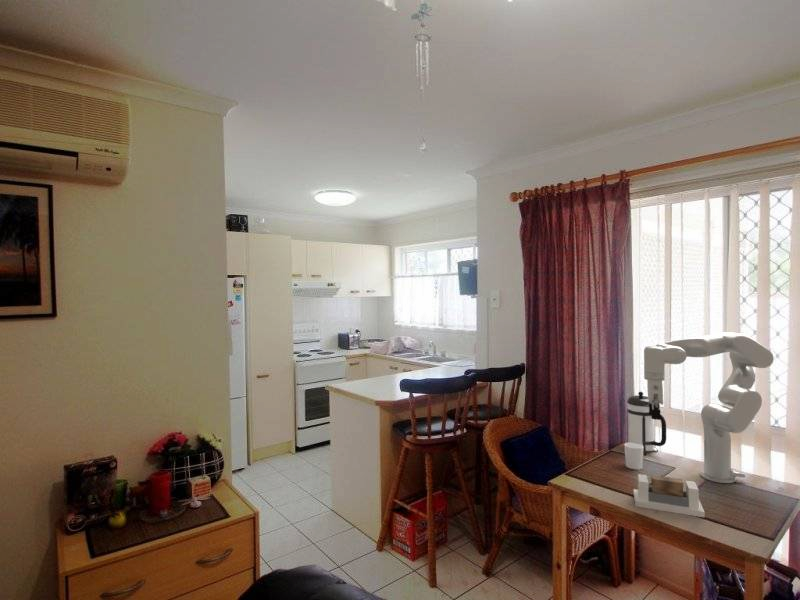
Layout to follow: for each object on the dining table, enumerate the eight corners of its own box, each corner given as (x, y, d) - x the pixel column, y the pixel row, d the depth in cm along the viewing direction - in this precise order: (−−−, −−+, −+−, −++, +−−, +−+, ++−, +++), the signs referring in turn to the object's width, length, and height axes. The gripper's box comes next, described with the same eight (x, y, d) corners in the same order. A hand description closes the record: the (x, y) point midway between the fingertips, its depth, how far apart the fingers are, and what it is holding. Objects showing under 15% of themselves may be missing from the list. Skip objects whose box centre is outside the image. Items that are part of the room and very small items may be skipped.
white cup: (620, 465, 208) (620, 444, 208) (632, 462, 211) (632, 441, 211) (635, 471, 201) (635, 449, 200) (647, 468, 204) (647, 446, 204)
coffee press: (626, 454, 221) (626, 394, 220) (623, 444, 236) (622, 387, 235) (666, 458, 215) (666, 396, 214) (660, 447, 230) (660, 389, 229)
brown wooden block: (681, 499, 169) (681, 478, 169) (683, 504, 166) (683, 483, 165) (651, 495, 173) (651, 474, 173) (652, 499, 170) (652, 478, 169)
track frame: (698, 503, 170) (698, 480, 170) (704, 517, 160) (704, 492, 160) (633, 493, 179) (633, 471, 179) (635, 506, 169) (635, 482, 169)
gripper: (667, 380, 179) (667, 422, 179) (661, 372, 195) (662, 411, 195) (646, 379, 182) (646, 420, 182) (642, 371, 198) (642, 410, 198)
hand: (654, 416), depth 189 cm, fingers open, 9 cm apart
